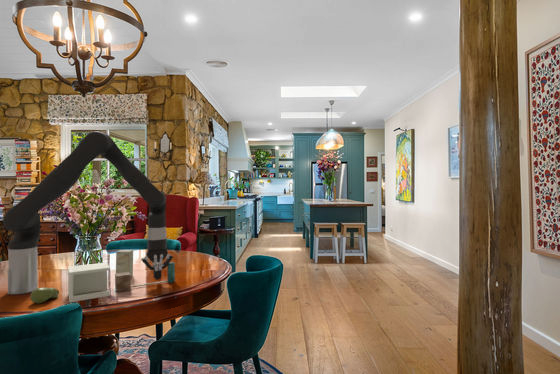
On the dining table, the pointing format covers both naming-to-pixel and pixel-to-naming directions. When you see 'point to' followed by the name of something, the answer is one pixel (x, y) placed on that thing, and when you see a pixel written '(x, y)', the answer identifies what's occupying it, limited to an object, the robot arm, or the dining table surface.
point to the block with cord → (125, 284)
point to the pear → (43, 294)
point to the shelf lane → (87, 281)
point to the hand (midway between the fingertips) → (157, 279)
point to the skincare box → (124, 261)
